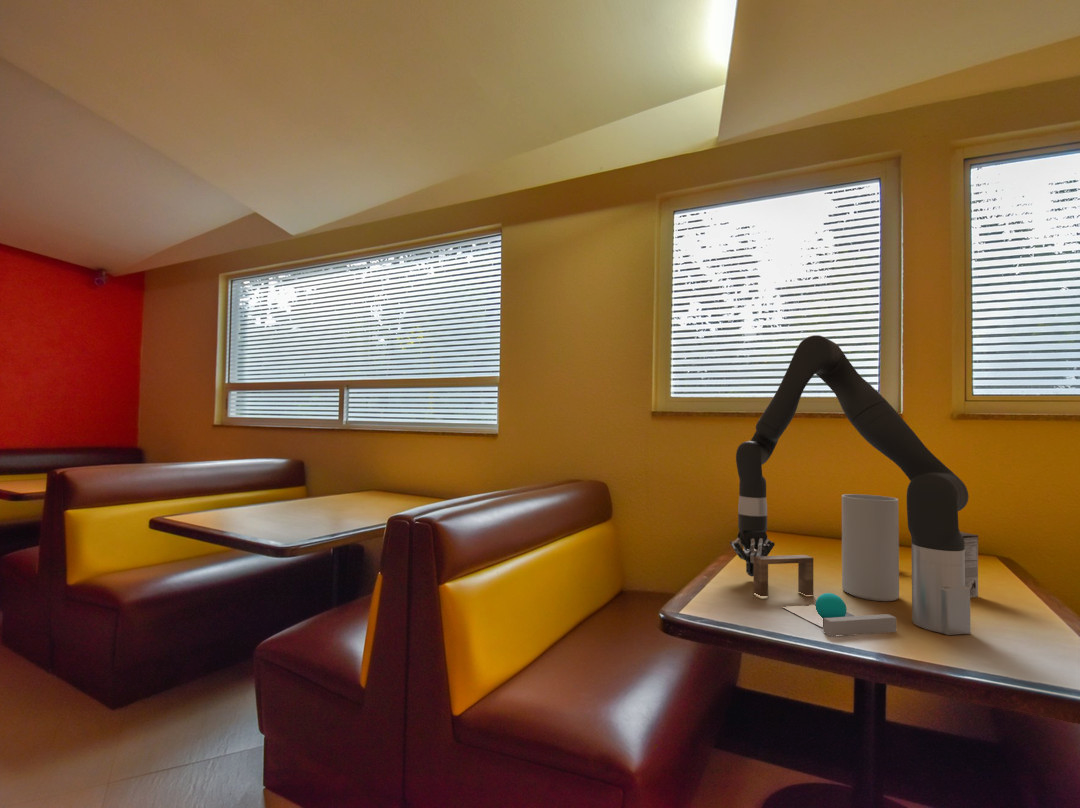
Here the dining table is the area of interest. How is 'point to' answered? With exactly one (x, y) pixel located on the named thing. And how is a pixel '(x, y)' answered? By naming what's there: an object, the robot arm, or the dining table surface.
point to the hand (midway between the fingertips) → (752, 575)
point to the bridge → (803, 563)
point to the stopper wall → (859, 625)
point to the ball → (830, 606)
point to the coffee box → (971, 563)
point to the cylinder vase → (870, 547)
